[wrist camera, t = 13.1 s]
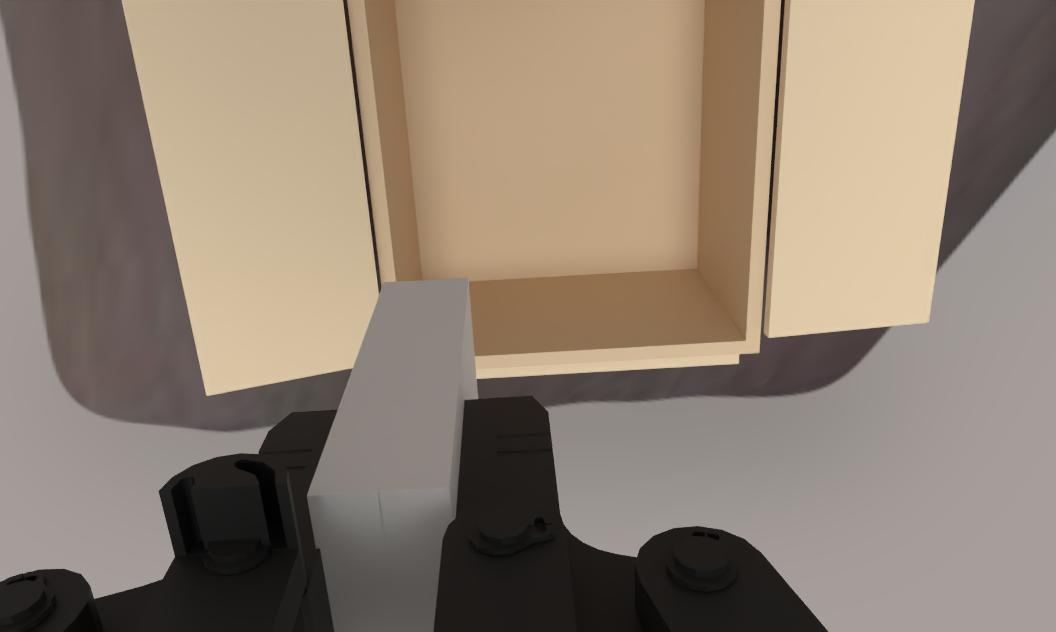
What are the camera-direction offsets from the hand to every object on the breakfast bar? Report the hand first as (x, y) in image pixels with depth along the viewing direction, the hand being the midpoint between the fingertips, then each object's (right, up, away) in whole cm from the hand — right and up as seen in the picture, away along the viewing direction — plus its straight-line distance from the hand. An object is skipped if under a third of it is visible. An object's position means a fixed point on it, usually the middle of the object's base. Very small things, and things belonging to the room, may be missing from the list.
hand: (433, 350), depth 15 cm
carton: (+3, +11, +26) cm, 29 cm away
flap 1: (-4, +6, +17) cm, 18 cm away
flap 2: (+11, +7, +17) cm, 21 cm away
